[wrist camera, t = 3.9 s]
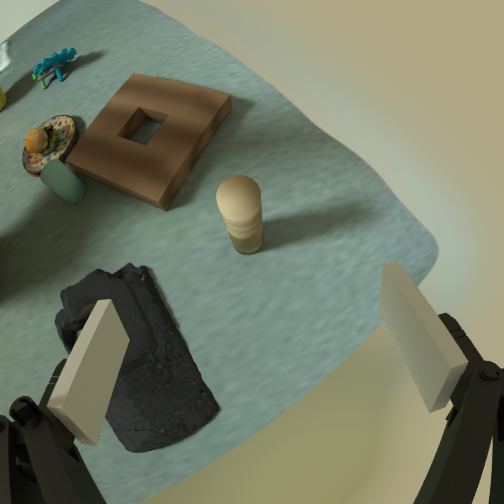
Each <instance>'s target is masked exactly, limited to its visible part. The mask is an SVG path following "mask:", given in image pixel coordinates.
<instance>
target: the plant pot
mask: <svg viewBox="0 0 504 504" xmlns="http://www.w3.org/2000/svg"><path fill="white" fill-rule="evenodd" d="M5 103H6V96H5V94H4V92H3V90H2V88H1V86H0V111H1V110H2V108H3V107H4V105H5Z"/></svg>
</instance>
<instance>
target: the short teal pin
mask: <svg viewBox="0 0 504 504" xmlns="http://www.w3.org/2000/svg"><path fill="white" fill-rule="evenodd" d="M40 178H41V181H42V182H43V183H44V184H46V185H47V186H48V187H49V188H51V189H52V190H53V191H54V192H56V193H57V194H58V195H59V196H61V197H62V198H63V199H65V200H66V201H67V202H68V203H70V204H77V203H78V202H80V201H81V200H82V199H83V197H84V196H85V193H86V186H85V184H84V183H83V182H82V181H81V180H80V179H79V178H78V177H76V176H75V175H74V174H73V173H72V172H71V171H70V170H69V169H68V168H67V167H66V166H65V165H64V164H63V163H62V162H61V161H60V160H59V159H52V160H50V161H49V162H48V163H46V165H45V166H44V167H43V169H42V171H41V175H40Z"/></svg>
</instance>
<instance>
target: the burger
mask: <svg viewBox="0 0 504 504" xmlns="http://www.w3.org/2000/svg"><path fill="white" fill-rule="evenodd" d="M78 137H79V132H78V130H77V128H76V122H75V120H74V119H73V118H71V117H70V116H68V115H58V116H55V117H53V118H51V119H49V120H48V121H46V122H44V123H43V124H42V125H41V126H40V127H38V128H35V129H32V130H31V131H30V132H29V133H28V134H27V136H26V139H25V148H24V151H23V158H22V159H23V166H24V168H25V169H26V170H27V172H28V173H29V174H31V175H32V176H36V177H40V175H41V171H42V169H43V167H44V166H45V165H46V163H48V162H49V161H50V160H52V159H59V160H60V161H61V162H62V163H64V162H65V160H66V158H67V157H68V155H69V154H70V153H71V151H72V150H73V148H74V146H75V145H76V142H77V140H78Z"/></svg>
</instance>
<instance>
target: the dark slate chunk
mask: <svg viewBox="0 0 504 504" xmlns="http://www.w3.org/2000/svg"><path fill="white" fill-rule="evenodd" d="M60 296H61V301H62V303H63V307H64V309H62V310H60V312H59V313H57V315H56V318H55V325H56V327H57V331H58V334H59V337H60V339H61V340H62V342H63V344H64V346H65V349H66V351H67V353H68V354H69V355H70V353H71V351H72V349H73V347H74V345H75V333H76V332H77V330H79V329H81V327H83V326H85V324H86V322H87V320H88V318H89V316H90V314H91V312H92V311H93V309H94V307H95V305H96V303H97V301H98V300H107V299H111V301H112V303H113V305H114V307H115V310H116V312H117V314H118V316H119V318H120V321H121V323H122V325H123V327H124V329H125V331H126V333H127V335H128V337H129V339H130V341H129V343H128V346H127V349H126V352H125V355H124V358H123V361H122V364H121V367H120V370H119V373H118V376H117V379H116V382H115V385H114V389H113V392H112V395H111V398H110V401H109V405H108V408H107V411H106V415H105V418H106V420H107V421H108V423H109V424H110V426H111V427H112V429H113V431H114V433H115V434H116V436H117V438H118V439H119V441H120V442H121V443H122V444H123V445H124V447H125V449H126V450H127V451H130V452H133V453H143V452H147V451H152V450H154V449H157V448H160V447H165V446H166V445H169V444H170V443H172V442H173V441H176V440H178V439H181V438H183V437H185V436H187V435H188V434H190V433H192V432H193V431H194V430H195V429H196V428H197V427H201V426H203V425H205V424H206V423H207V422H208V421H209V420H210V419H211V417H212V415H213V414H214V413H215V412H217V411H218V410H219V408H218V405H217V403H216V401H215V400H214V397H213V394H212V392H211V391H210V389H209V388H208V387H207V386H206V384H205V383H204V382H203V380H202V378H201V373H200V372H199V371H198V368H197V365H196V364H195V363H194V361H193V359H192V357H191V354H190V352H189V351H188V349H187V346H186V344H185V342H184V341H183V339H182V337H181V335H180V333H179V332H178V330H177V329H176V327H175V323H174V322H173V321H172V319H171V316H170V314H169V312H168V311H167V309H166V307H165V305H164V303H163V301H162V299H161V297H160V296H159V293H158V291H157V289H156V287H155V285H154V282H153V279H152V277H151V276H150V274H149V272H148V270H147V268H146V267H145V266H140V267H138V268H134V267H133V266H132V264H131V263H128V264H127V265H125V266H124V267H123V268H122V269H120V270H119V271H117V272H115V273H114V274H111V273H109V272H105V271H104V270H101V269H96V270H95V271H93V272H91V273H89V274H88V275H87V276H86V277H85V278H84V279H82V280H81V281H80V282H78V283H77V284H75V285H73V286H68V287H67V288H66V289H65V290H62V291H61V294H60Z"/></svg>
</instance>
